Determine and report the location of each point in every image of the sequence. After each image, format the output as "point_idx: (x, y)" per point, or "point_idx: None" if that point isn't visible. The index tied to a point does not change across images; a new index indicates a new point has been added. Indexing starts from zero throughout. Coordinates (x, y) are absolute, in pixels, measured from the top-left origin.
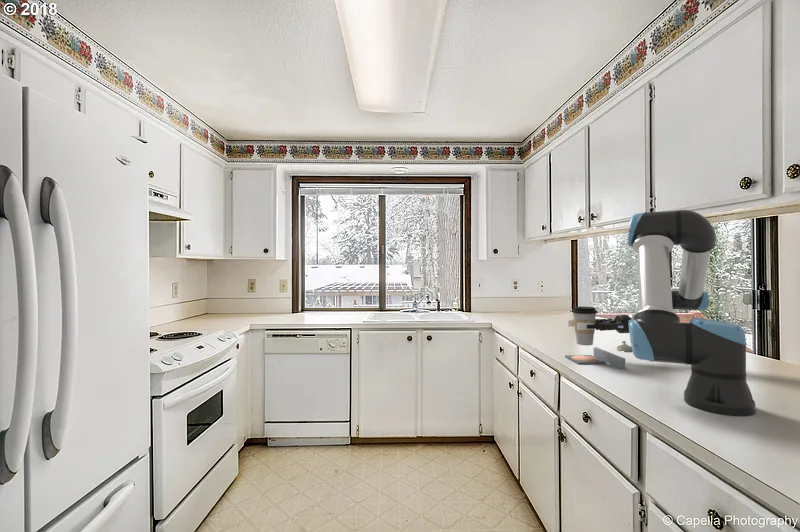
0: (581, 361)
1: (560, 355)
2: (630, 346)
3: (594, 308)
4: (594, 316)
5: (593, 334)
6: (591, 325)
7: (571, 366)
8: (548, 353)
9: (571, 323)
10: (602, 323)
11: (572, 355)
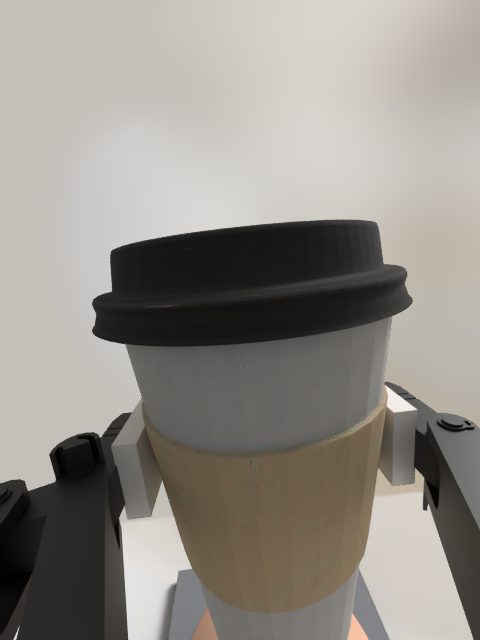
0: (193, 601)
1: (396, 546)
2: None
3: (119, 249)
4: (141, 379)
5: (211, 593)
6: (104, 435)
7: (154, 528)
8: (417, 497)
9: None
10: (37, 565)
11: (367, 603)
